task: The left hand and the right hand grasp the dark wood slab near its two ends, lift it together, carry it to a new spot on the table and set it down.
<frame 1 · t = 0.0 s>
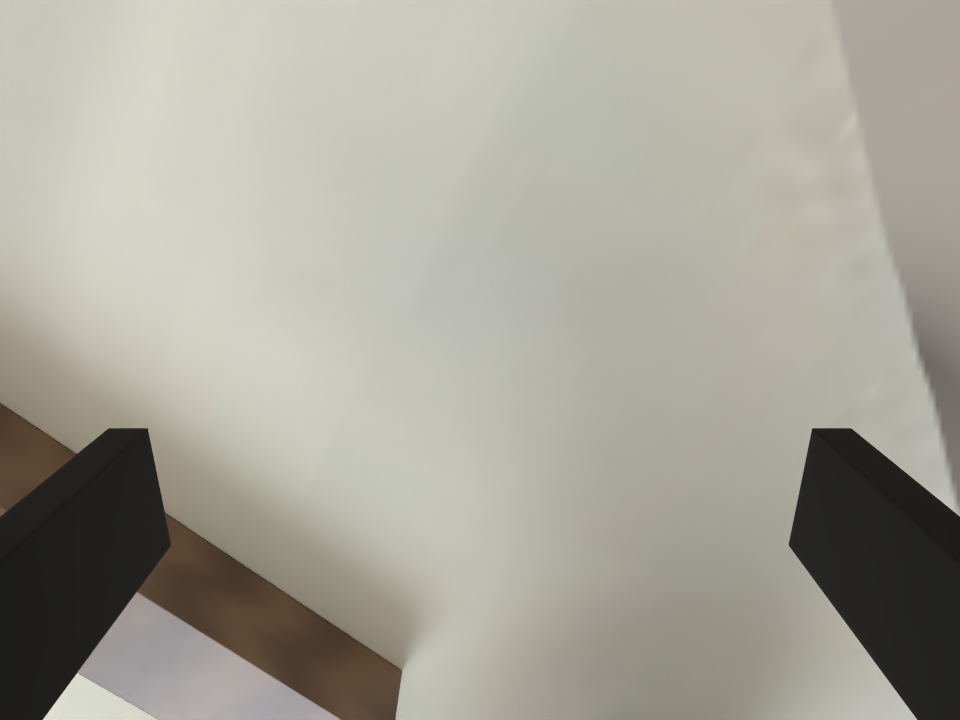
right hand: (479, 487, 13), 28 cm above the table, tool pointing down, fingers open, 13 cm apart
slab: (80, 514, 46), on the table
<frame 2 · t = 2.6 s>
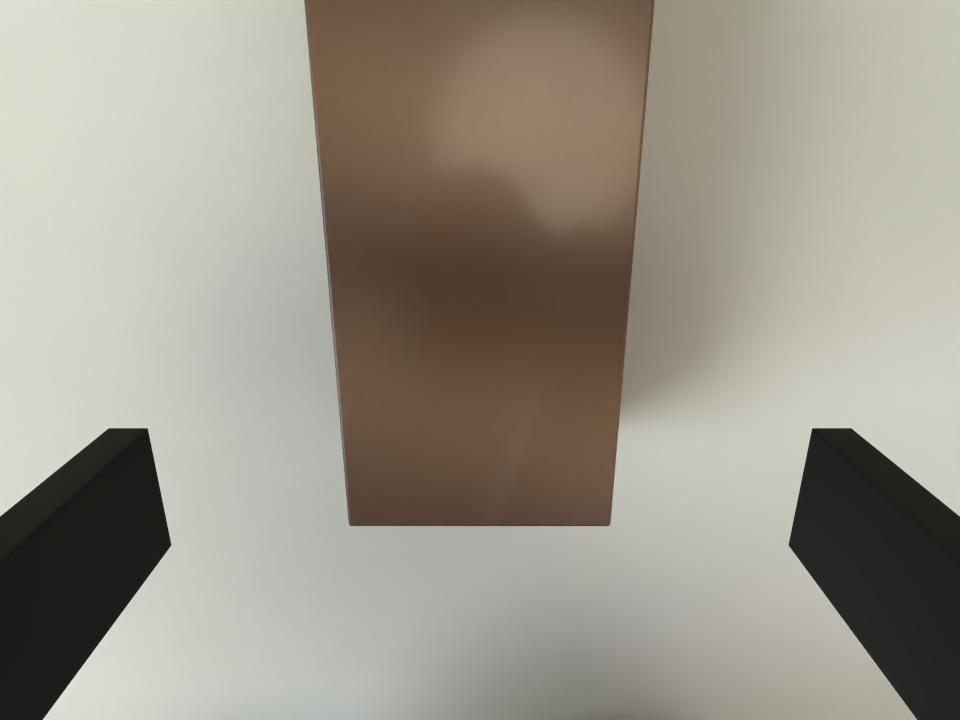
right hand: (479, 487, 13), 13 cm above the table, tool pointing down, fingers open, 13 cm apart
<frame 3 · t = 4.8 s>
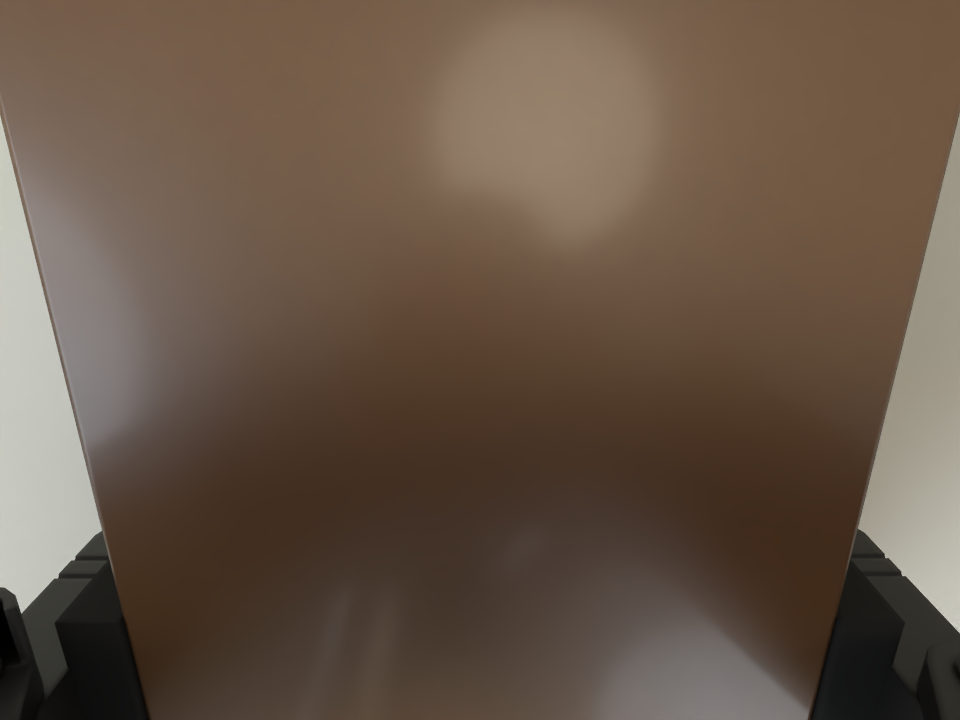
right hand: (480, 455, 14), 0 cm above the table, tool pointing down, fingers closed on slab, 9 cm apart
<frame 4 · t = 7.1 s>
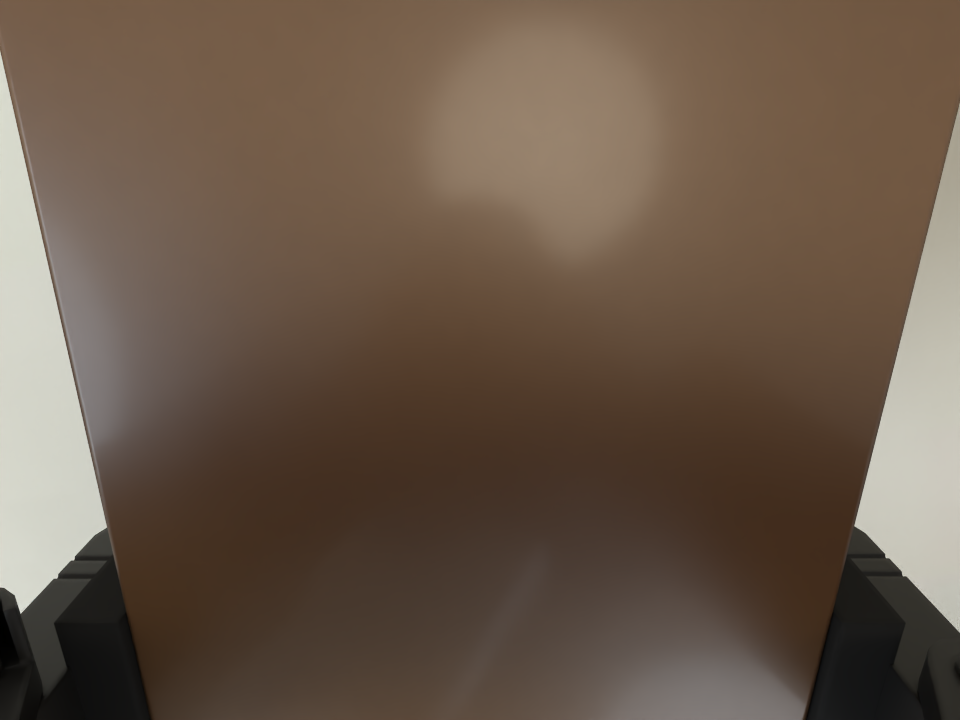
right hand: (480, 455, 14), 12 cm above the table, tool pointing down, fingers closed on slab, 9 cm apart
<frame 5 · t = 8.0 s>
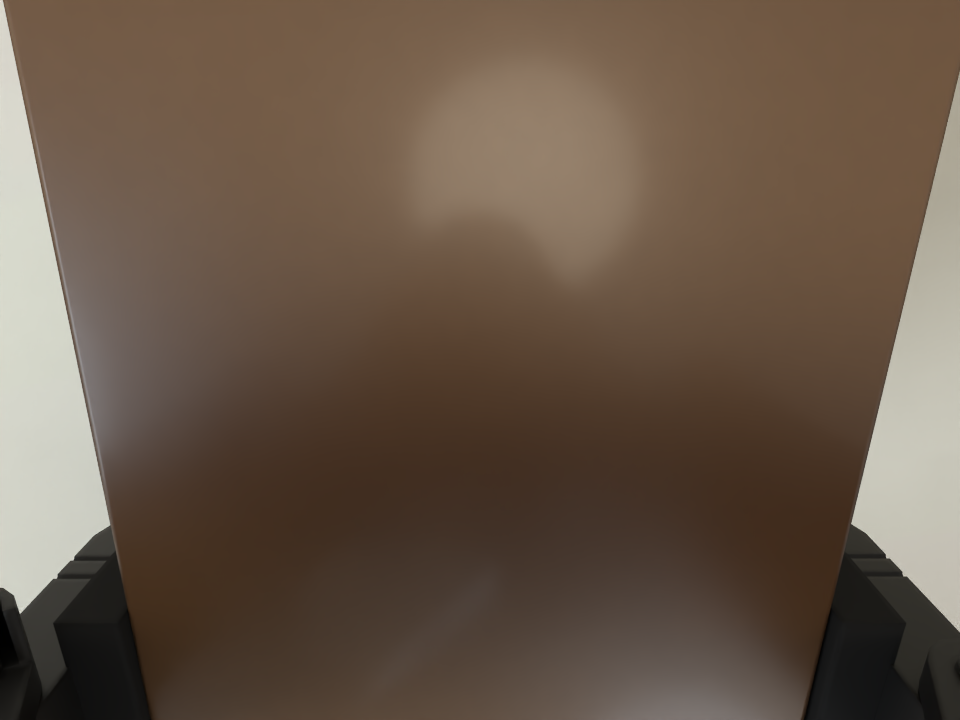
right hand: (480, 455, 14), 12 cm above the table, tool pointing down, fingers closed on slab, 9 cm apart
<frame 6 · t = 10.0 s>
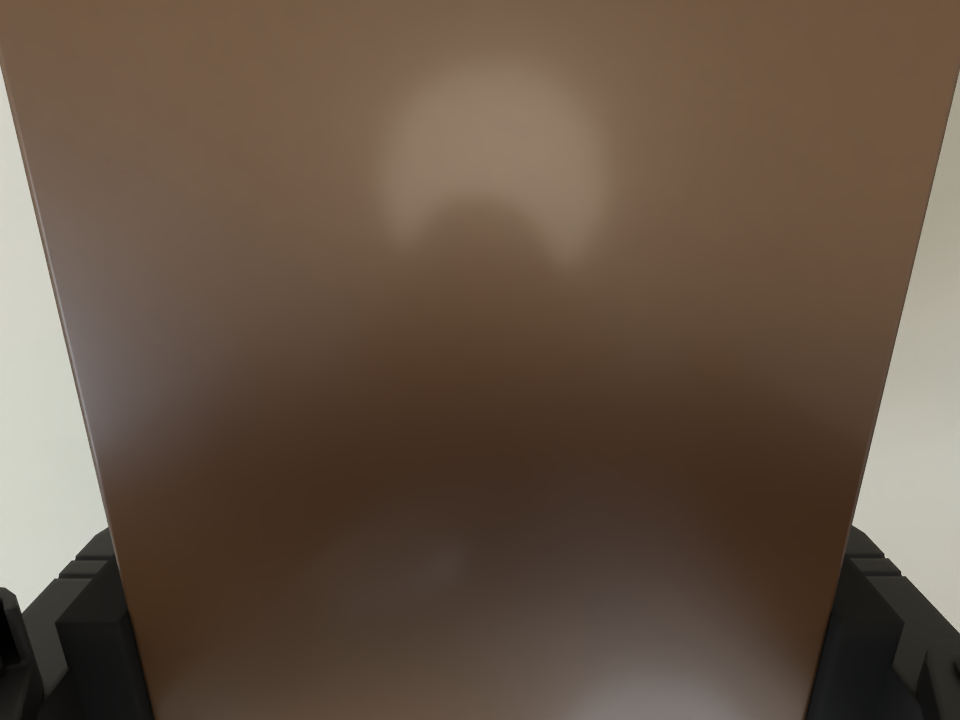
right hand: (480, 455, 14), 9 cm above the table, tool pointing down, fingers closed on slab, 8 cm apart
when the left hand's fingers open (2 cm above the table, at t = 11.4 s): slab drops 1 cm, on the table.
when the right hand's fingers open (2 cm above the table, at t = 11.4 s): slab drops 1 cm, on the table.
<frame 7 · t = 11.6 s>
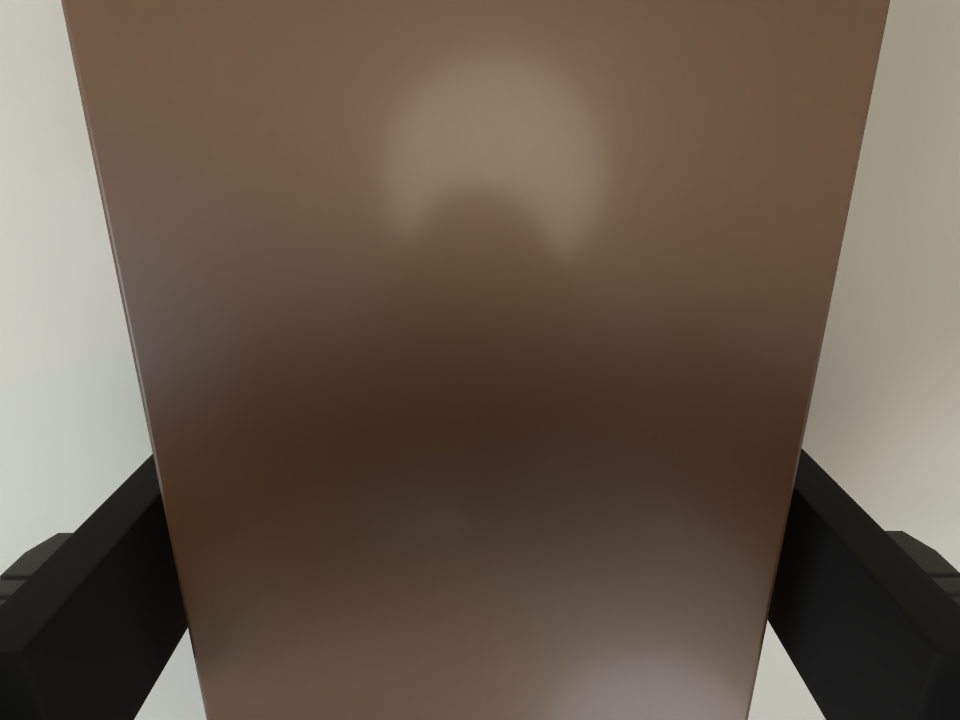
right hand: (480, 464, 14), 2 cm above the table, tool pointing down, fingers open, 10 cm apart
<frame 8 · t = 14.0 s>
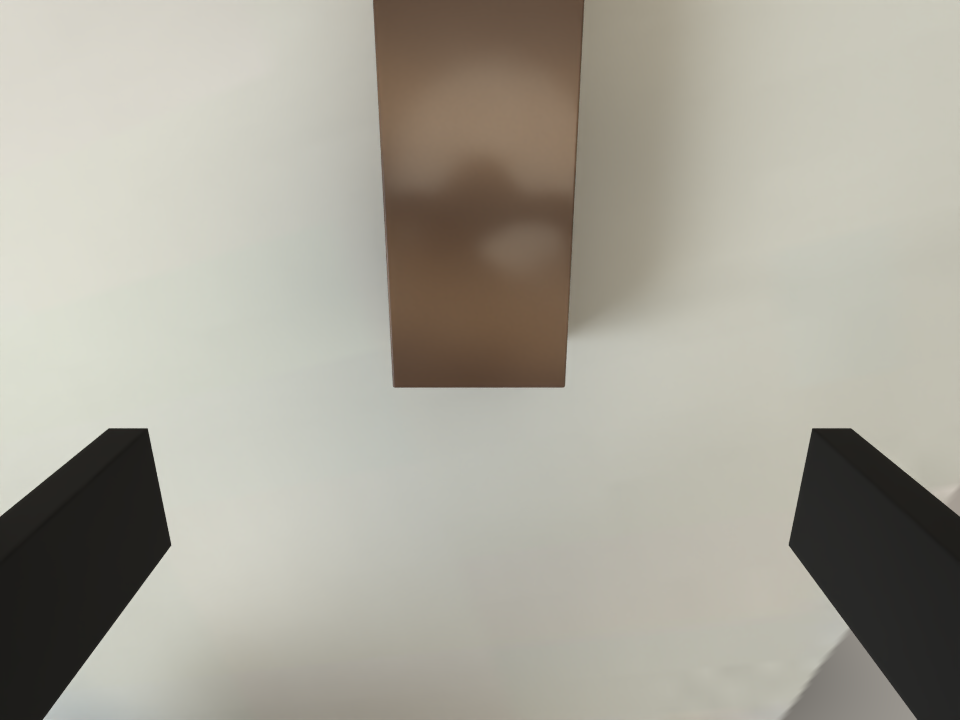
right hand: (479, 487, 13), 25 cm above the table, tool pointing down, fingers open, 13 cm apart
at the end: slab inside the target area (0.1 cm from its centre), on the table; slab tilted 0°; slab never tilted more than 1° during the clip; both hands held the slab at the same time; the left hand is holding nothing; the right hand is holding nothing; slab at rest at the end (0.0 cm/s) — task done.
